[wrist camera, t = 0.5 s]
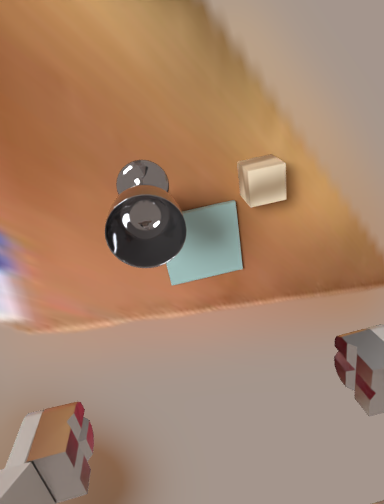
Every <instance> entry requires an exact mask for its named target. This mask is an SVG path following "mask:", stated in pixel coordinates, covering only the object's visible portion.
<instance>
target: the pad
mask: <svg viewBox="0 0 384 504" xmlns="http://www.w3.org/2000/svg"><path fill="white" fill-rule="evenodd" d="M182 213H183V216H184V219H185V223H186V229H187V232H186V240H185V243H184V245H183V248H182V249H181V251H180V252H179V253H178V254H177V255H176V256H175V257H174V258H173V259H172V260H171V261H169V262H167V263H166V264H167V268H168V272H169V276H170V280H171V284H172V285H176V284H181V283H185V282H189V281H193V280H197V279H202V278H206V277H210V276H214V275H219V274H223V273H227V272H231V271H236V270H240V269H243V266H242V257H241V248H240V238H239V229H238V220H237V210H236V202H235V200H231V201H227V202H222V203H218V204H214V205H209V206H205V207H200V208H196V209H191V210H187V211H182Z"/></svg>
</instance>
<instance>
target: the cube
mask: <svg viewBox="0 0 384 504" xmlns="http://www.w3.org/2000/svg"><path fill="white" fill-rule="evenodd" d="M237 168H238V178H239V188H240V195H241V197H242V198H243V199H244V200H245V201H246V202H247V204H248V205H249V206H250V207H255V206H260V205H264V204H268V203H273V202H277V201H282V200H286V163H285V162H283V161H282V160H280V159H279V158H277V157H275V156H274V155H272V154H270V155H265V156H261V157H256V158H251V159H247V160H242V161H238V162H237Z"/></svg>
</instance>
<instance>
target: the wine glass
mask: <svg viewBox="0 0 384 504" xmlns="http://www.w3.org/2000/svg"><path fill="white" fill-rule="evenodd" d="M116 185H117V191H118V194H119V195H118V197H117V198H116V199H115V200H114V202H113V204H112V205H111V207H110V209H109V213H108V216H107V219H106V225H105V238H106V241H107V245H108V247H109V248H110V250H111V252H112V253H113V254H114V255H115V256H116V257H117V258H118V259H119V260H121V261H122V262H124V263H126V264H128V265H130V266H134V267H138V268H153V267H158V266H161V265H163V264H165V263H167V262H169V261H171V260H172V259H173V258H174V257H175V256H176V255H177V254H178V253H179V252H180V251H181V249H182V248H183V245H184V243H185V240H186V232H187V229H186V223H185V219H184V216H183V213H182V211H181V209H180V207H179V205H178V204H177V202H176V201H175V200H174V199H173V197H172V196H171V195H170V194H169V193H168V188H169V183H168V178H167V176H166V174H165V172H164V171H163V169H162V168H161V167H160V166H158V165H157V164H155V163H154V162H151V161H147V160H137V161H133V162H130V163H129V164H127V165H126V166H125V167H123V169H122V170H121V171H120V173H119V175H118V178H117V183H116Z"/></svg>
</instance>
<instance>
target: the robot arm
mask: <svg viewBox="0 0 384 504" xmlns="http://www.w3.org/2000/svg"><path fill="white" fill-rule="evenodd" d="M335 347H336V348H337V350H338V352H337V354H336V355H335V356H334V361H335V368H336V372H337V374H338V376H339V378H340V380H341V381H342V383H343V384H344V385H345V386H346V387H347V388H350V389H352V390H354V391H355V399H356V401H357V402H358V403H359V404H360V406H361V407H362V408H363V410H364V411H365V412H366V413H367V415H368V416H373V415H377V414H381V413H384V325H381V324H380V325H376V326H373V327H369V328H366V329H361V330H358V331H354V332H350V333H346V334H342V335H339V336H336V338H335ZM84 411H85V409H84V407H83V405H82V404H81V402H74V403H70V404H65V405H61V406H57V407H52V408H48V409H45V410H40V411H36V412H32V413H28V414H27V415H26V416H25V417H24V419H23V422H22V425H21V427H20V430H19V432H18V435H17V437H16V441H15V443H14V446H13V448H12V451H11V453H10V456H9V459H8V461H7V464H6V466H5V469H2V470H0V504H56V503H59V502H62V501H66V500H69V499H72V498H76V497H79V496H82V495H85V494H87V493H88V486H89V478H90V472H91V469H90V466H89V464H88V462H87V461H88V460H89V459H90V457H91V456H92V454H93V447H94V434H93V429H92V425H91V423H90V420H88V419H87V418H85V417H83V416H84ZM372 504H384V500H383V501H379V502H376V503H372Z"/></svg>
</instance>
